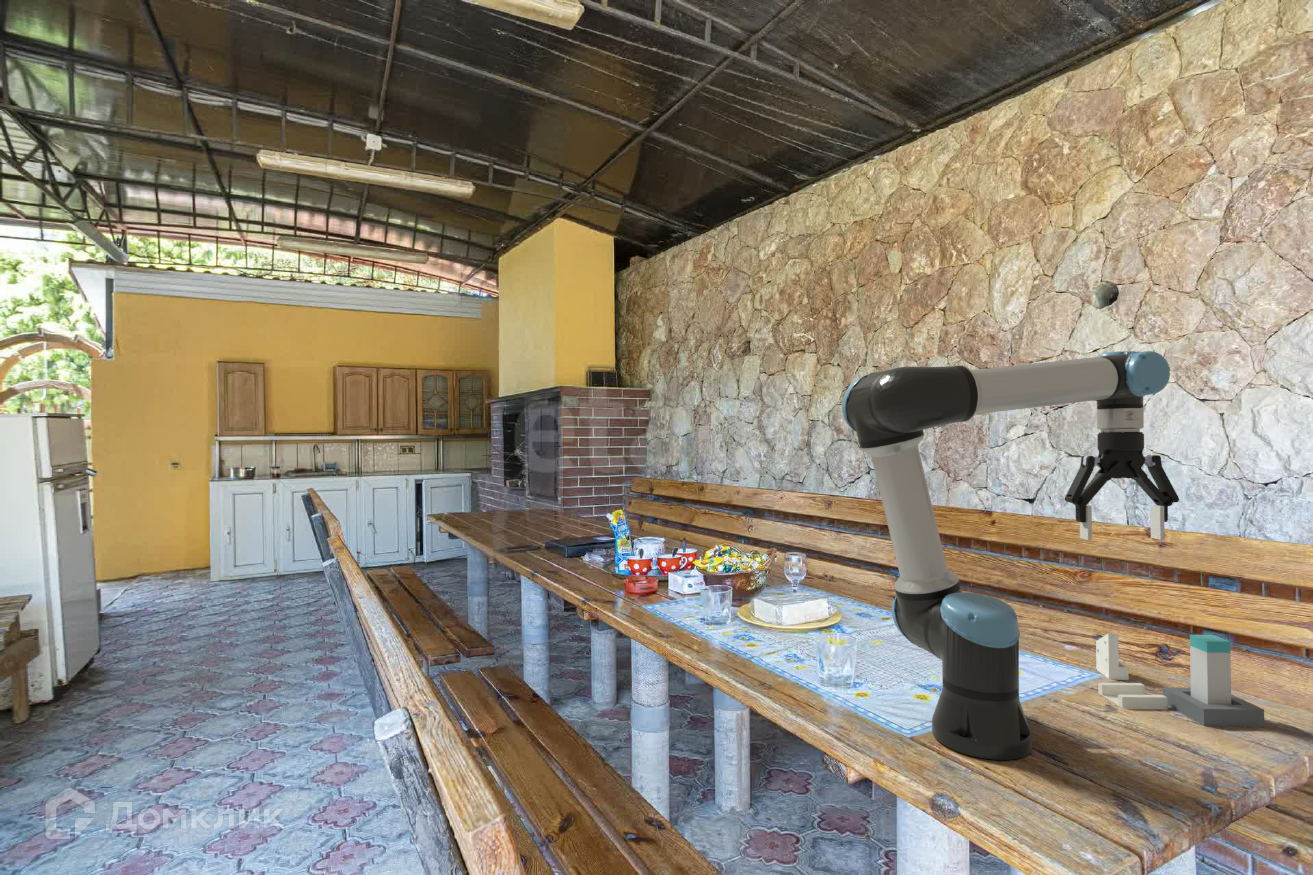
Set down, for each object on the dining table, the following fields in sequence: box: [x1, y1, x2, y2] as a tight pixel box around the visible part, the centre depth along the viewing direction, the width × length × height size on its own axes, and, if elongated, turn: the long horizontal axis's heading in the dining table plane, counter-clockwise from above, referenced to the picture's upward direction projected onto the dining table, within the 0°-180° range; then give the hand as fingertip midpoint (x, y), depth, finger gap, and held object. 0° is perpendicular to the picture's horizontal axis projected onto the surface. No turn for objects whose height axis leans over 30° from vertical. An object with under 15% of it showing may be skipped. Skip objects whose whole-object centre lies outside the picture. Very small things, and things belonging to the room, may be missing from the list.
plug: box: [1189, 634, 1232, 705], centre depth 119 cm, size 4×4×14 cm
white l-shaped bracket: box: [1095, 633, 1130, 681], centre depth 138 cm, size 4×10×9 cm
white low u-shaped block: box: [1096, 682, 1169, 710], centre depth 126 cm, size 8×8×3 cm
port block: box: [1162, 686, 1265, 728], centre depth 119 cm, size 10×10×4 cm
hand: (1121, 539), depth 130 cm, fingers open, 13 cm apart
